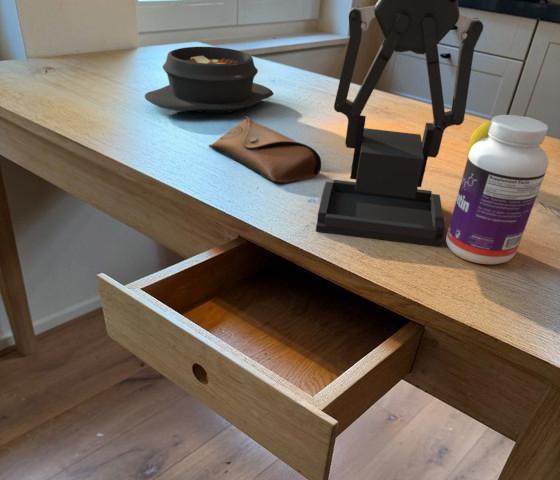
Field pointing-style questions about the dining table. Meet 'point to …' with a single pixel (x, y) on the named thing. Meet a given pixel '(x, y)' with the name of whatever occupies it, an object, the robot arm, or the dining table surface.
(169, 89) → the casserole
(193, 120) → the dining table surface
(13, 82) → the dining table surface
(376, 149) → the black block
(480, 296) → the dining table surface
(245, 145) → the sunglasses case
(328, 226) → the base pad
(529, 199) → the pill bottle
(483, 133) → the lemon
